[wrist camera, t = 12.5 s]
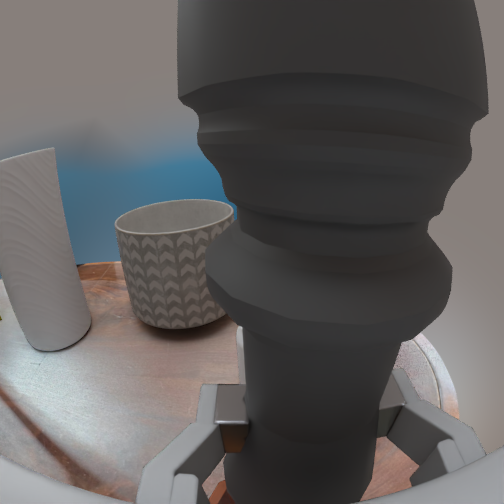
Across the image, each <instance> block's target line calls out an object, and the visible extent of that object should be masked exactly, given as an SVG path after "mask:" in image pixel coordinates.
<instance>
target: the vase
mask: <svg viewBox="0 0 504 504" xmlns="http://www.w3.org/2000/svg"><path fill="white" fill-rule="evenodd" d="M0 273H1V276H2V279H3V282H4V285H5V288H6V291H7V294H8V297H9V299H10V302H11V305H12V307H13V310H14V312H15V315H16V317H17V320H18V322H19V324H20V326H21V328H22V330H23V332H24V334H25V336H26V338H27V340H28V342H29V343H30V345H31V346H32V347H34V348H36V349H38V350H43V351H55V350H60V349H63V348H66V347H68V346H70V345H72V344H74V343H75V342H77V341H78V340H79V339H81V338H82V337H83V336H84V335H85V333H86V332H87V331H88V329H89V327H90V324H91V315H90V312H89V308H88V305H87V301H86V298H85V294H84V291H83V288H82V284H81V281H80V277H79V274H78V270H77V267H76V263H75V259H74V255H73V252H72V247H71V243H70V239H69V234H68V230H67V225H66V220H65V215H64V210H63V205H62V199H61V193H60V187H59V180H58V174H57V166H56V158H55V149H54V148H47V149H43V150H38V151H34V152H30V153H26V154H22V155H18V156H15V157H11V158H8V159H4V160H1V161H0Z"/></svg>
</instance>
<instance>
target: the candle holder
mask: <svg viewBox="0 0 504 504" xmlns="http://www.w3.org/2000/svg"><path fill="white" fill-rule="evenodd" d="M177 30H178V31H177V62H178V63H177V64H178V65H177V66H178V98H179V100H180V101H181V102H182V103H183V104H184V105H186V106H188V107H190V108H192V109H193V110H194V111H195V112H196V113H197V115H198V117H199V129H198V132H197V139H198V145H199V147H200V148H201V150H202V152H203V154H204V155H205V156H206V158H207V159H208V160H209V161H210V162H211V163H212V164H213V165H214V166H215V168H216V169H217V171H218V172H219V174H220V176H221V178H222V184H223V189H224V192H225V195H226V197H227V199H228V200H229V201H230V202H232V203H234V204H235V205H236V206H237V220H235V221H234V222H233V223H231V224H230V225H229V226H228V227H227V228H226V229H225V230H224V231H223V232H222V233H221V234H220V235H219V236H218V237H217V238H216V239H215V240H214V241H213V242H212V243H211V244H210V245H209V246H208V247H207V248H206V249H205V273H206V282H207V287H208V290H209V293H210V295H211V297H212V298H213V299H214V300H215V301H216V302H217V304H218V305H219V306H220V307H221V308H222V309H223V310H224V311H225V312H226V313H227V314H228V315H229V316H230V317H231V318H232V319H233V321H234V322H235V323H236V324H237V325H239V326H241V327H242V332H243V348H244V364H245V380H246V392H245V395H244V397H245V403H246V408H247V414H248V417H249V423H250V432H249V434H248V437H247V438H246V441H245V444H244V446H243V448H242V450H241V452H240V453H226V456H225V459H224V462H223V465H224V473H225V482H226V488H227V491H228V493H229V494H230V496H231V497H232V499H233V500H234V501H235V504H351V503H356V502H359V501H360V499H361V498H362V496H363V494H364V492H365V491H366V489H367V487H368V485H369V483H370V481H371V479H372V473H373V465H374V457H375V449H376V440H377V431H378V420H379V408H380V401H381V399H382V396H383V394H384V391H385V388H386V386H387V383H388V381H389V378H390V375H391V373H392V370H393V367H394V364H395V361H396V358H397V355H398V352H399V349H400V346H401V343H402V342H404V341H408V340H411V339H413V338H414V337H415V336H417V335H418V334H419V333H420V332H421V331H423V329H425V328H426V327H427V326H428V325H429V324H431V323H432V322H433V321H434V320H435V319H436V318H437V317H438V316H439V315H440V314H441V313H442V312H443V310H444V308H445V306H446V304H447V302H448V298H449V295H450V291H451V283H452V266H451V264H450V262H449V261H448V259H447V258H446V256H445V255H444V253H443V252H442V251H441V250H440V248H439V247H438V246H437V245H436V243H435V242H434V241H433V240H432V238H431V237H430V236H429V234H428V233H427V230H428V223H429V221H430V220H431V219H432V218H433V217H434V216H437V215H439V214H440V212H441V211H442V210H443V206H444V201H445V198H446V195H447V193H448V191H449V189H450V187H451V186H452V184H453V183H454V182H455V180H456V179H457V178H458V177H459V176H460V175H461V174H462V173H463V172H464V171H465V169H466V168H467V166H468V164H469V163H470V161H471V156H472V147H471V144H470V132H471V128H472V126H473V125H474V123H475V122H476V121H478V120H481V119H482V118H483V117H485V116H486V115H487V114H488V89H487V75H486V66H485V57H484V50H483V43H482V37H481V31H480V26H479V21H478V16H477V11H476V7H475V3H474V0H178V29H177Z"/></svg>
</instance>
